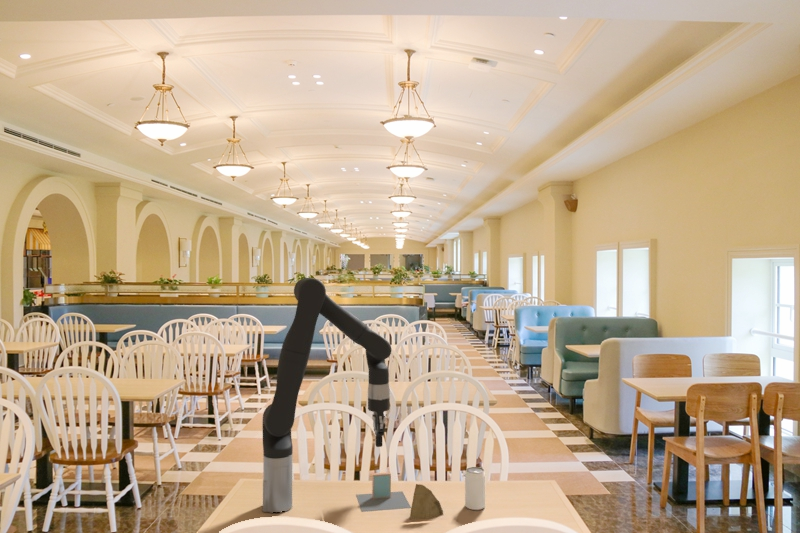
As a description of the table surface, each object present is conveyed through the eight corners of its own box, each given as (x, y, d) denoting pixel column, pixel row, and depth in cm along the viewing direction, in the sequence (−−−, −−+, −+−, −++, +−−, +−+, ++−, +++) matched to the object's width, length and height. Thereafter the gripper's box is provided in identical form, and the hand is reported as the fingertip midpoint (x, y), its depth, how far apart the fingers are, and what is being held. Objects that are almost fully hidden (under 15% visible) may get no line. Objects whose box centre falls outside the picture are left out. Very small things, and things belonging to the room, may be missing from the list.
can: (469, 511, 187) (469, 474, 187) (462, 503, 193) (462, 467, 193) (488, 509, 189) (488, 472, 189) (480, 501, 195) (480, 465, 195)
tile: (372, 499, 195) (373, 475, 195) (372, 497, 197) (372, 473, 197) (390, 497, 197) (390, 474, 197) (389, 496, 198) (389, 472, 198)
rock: (446, 503, 188) (416, 496, 190) (447, 488, 183) (416, 481, 185) (439, 535, 180) (408, 527, 182) (440, 520, 175) (407, 512, 177)
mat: (361, 513, 185) (361, 511, 185) (356, 496, 199) (356, 494, 199) (411, 509, 189) (411, 507, 189) (402, 493, 202) (402, 491, 202)
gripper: (365, 392, 208) (365, 441, 209) (370, 400, 195) (370, 452, 196) (386, 391, 210) (386, 440, 210) (392, 399, 197) (393, 451, 197)
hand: (378, 446), depth 203 cm, fingers closed
